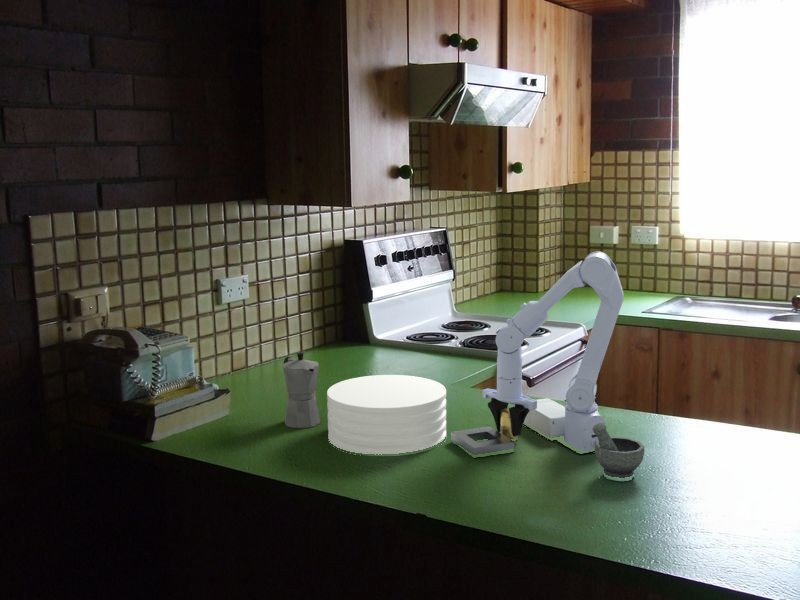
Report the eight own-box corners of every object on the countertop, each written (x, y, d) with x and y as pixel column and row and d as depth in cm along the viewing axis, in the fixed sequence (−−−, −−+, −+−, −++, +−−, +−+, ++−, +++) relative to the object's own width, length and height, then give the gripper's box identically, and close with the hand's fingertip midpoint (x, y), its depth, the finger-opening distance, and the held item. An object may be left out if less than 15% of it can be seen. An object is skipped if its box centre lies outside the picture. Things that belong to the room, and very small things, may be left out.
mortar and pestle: (625, 465, 185) (627, 411, 183) (652, 481, 176) (654, 424, 174) (579, 472, 181) (581, 417, 179) (605, 489, 172) (606, 431, 170)
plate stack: (457, 423, 215) (457, 378, 213) (430, 462, 189) (430, 411, 187) (350, 415, 223) (349, 371, 221) (310, 452, 196) (309, 403, 194)
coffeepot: (332, 426, 213) (330, 355, 210) (297, 433, 208) (295, 360, 205) (303, 410, 226) (301, 343, 223) (270, 417, 221) (267, 348, 218)
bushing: (520, 441, 201) (520, 412, 200) (505, 443, 199) (505, 414, 198) (512, 436, 205) (512, 407, 203) (497, 438, 203) (497, 409, 202)
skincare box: (519, 423, 214) (548, 443, 200) (519, 399, 213) (548, 418, 199) (549, 419, 216) (580, 439, 203) (550, 396, 215) (581, 414, 201)
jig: (514, 452, 194) (514, 441, 193) (474, 458, 190) (474, 448, 189) (489, 436, 205) (489, 426, 204) (450, 442, 201) (450, 431, 200)
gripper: (545, 378, 197) (544, 436, 199) (496, 367, 207) (495, 422, 210) (526, 385, 192) (525, 443, 194) (476, 373, 202) (476, 429, 205)
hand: (508, 433), depth 202 cm, fingers closed on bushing, 4 cm apart
